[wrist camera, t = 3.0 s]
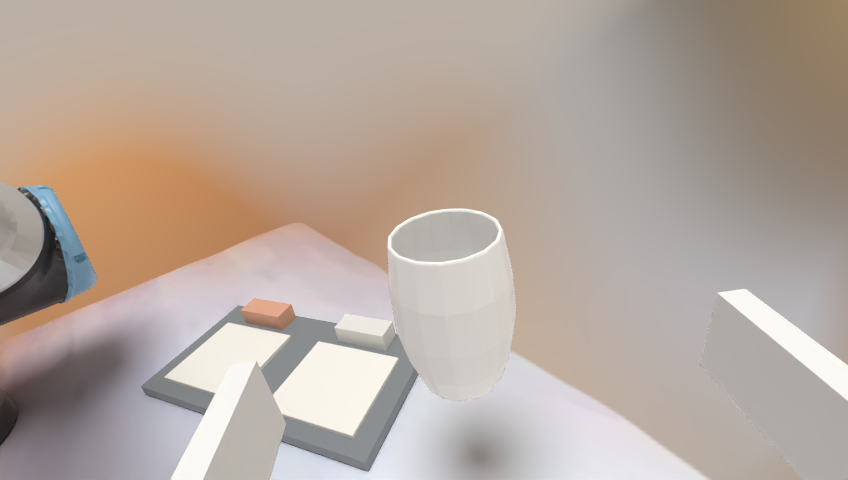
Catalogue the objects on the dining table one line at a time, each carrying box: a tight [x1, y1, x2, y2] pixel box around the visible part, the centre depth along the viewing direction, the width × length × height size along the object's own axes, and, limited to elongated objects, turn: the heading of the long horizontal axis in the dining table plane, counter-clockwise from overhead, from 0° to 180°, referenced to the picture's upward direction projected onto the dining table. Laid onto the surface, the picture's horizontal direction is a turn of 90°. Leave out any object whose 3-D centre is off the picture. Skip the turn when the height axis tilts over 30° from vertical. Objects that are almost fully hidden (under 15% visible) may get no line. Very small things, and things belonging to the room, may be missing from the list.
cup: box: [388, 209, 516, 401], centre depth 26 cm, size 7×7×21 cm
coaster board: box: [141, 298, 418, 471], centre depth 42 cm, size 28×14×3 cm, turn 68°
